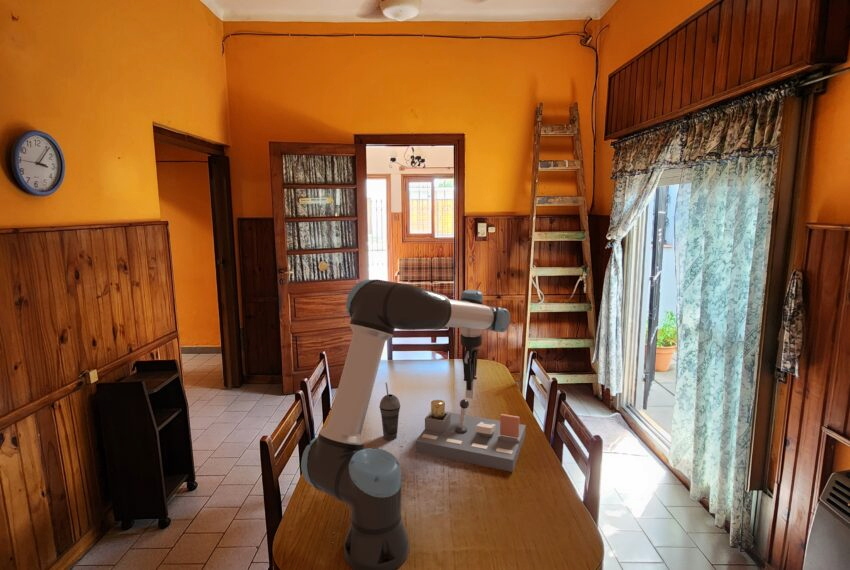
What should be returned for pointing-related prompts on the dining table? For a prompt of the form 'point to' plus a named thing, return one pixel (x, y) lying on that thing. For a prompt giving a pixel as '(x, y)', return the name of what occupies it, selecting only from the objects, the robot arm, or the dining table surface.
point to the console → (469, 442)
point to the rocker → (485, 428)
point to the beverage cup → (389, 415)
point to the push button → (438, 409)
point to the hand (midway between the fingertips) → (469, 397)
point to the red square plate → (509, 425)
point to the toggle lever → (463, 411)
